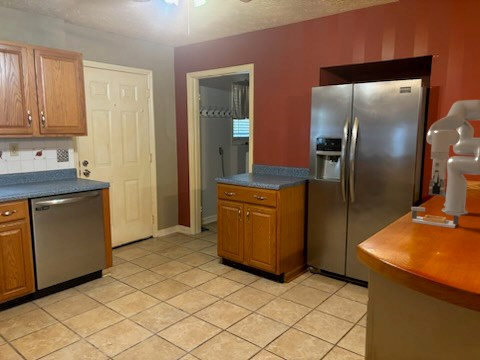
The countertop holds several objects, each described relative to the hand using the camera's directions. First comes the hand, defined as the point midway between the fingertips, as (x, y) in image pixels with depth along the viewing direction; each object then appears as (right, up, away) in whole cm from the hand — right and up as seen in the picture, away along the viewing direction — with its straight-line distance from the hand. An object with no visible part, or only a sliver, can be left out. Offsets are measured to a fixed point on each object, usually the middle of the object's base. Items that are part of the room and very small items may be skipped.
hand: (436, 192), depth 173 cm
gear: (+35, -10, +47) cm, 59 cm away
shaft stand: (0, -15, +2) cm, 15 cm away
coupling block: (0, -1, 0) cm, 1 cm away
